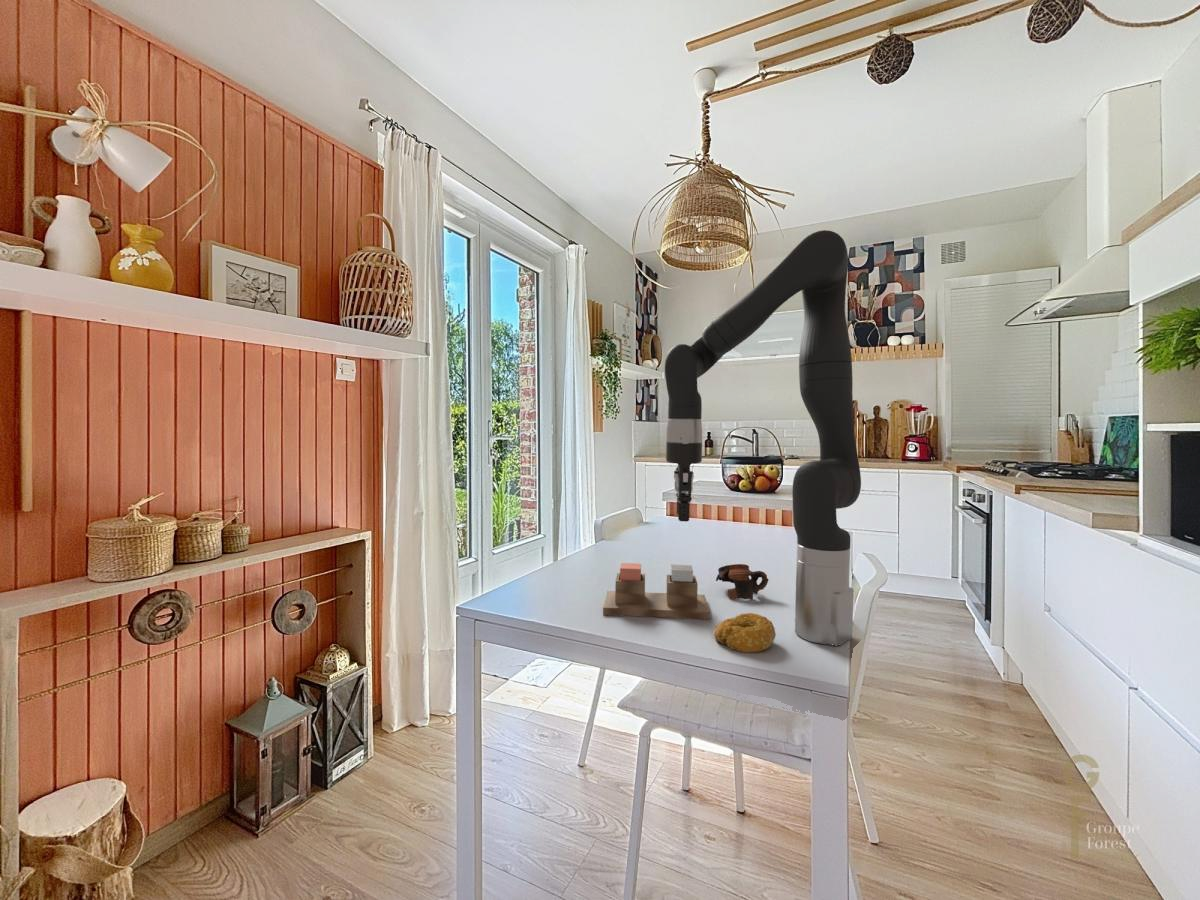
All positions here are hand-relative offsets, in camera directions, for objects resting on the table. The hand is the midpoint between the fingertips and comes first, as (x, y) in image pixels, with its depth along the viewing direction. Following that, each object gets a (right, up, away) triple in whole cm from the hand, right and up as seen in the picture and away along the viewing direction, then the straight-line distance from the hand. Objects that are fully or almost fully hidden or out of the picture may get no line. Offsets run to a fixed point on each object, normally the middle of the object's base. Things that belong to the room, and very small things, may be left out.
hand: (682, 517), depth 112 cm
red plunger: (-11, -16, +2) cm, 19 cm away
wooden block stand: (-6, -20, +1) cm, 21 cm away
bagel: (+9, -21, -16) cm, 28 cm away
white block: (0, -16, +1) cm, 16 cm away
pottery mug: (+16, -20, +11) cm, 28 cm away
